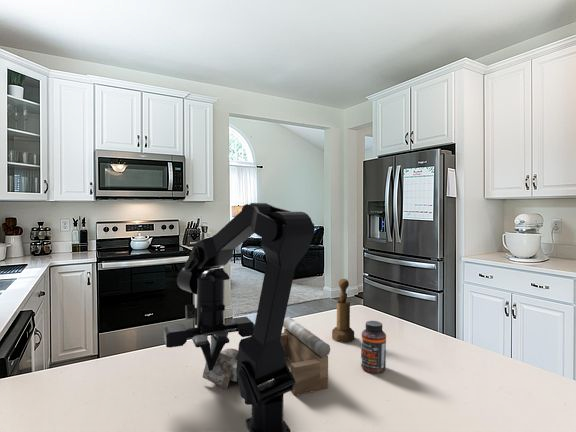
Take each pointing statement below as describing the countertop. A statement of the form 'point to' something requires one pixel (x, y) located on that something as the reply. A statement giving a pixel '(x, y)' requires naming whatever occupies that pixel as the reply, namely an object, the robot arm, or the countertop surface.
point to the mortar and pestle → (343, 316)
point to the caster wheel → (223, 368)
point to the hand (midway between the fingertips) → (210, 369)
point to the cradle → (305, 357)
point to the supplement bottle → (373, 348)
